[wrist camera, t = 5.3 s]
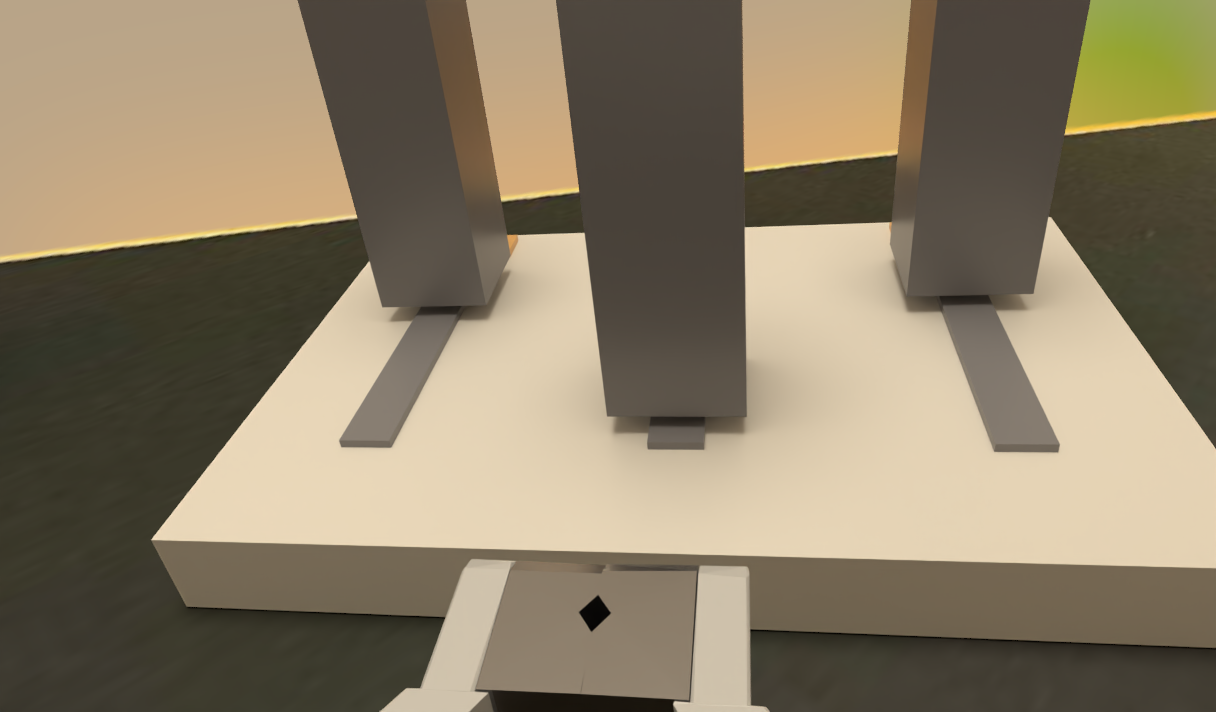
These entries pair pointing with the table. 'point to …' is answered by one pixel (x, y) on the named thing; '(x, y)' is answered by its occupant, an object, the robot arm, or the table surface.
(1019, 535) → the switch bank
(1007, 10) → the tall grey switch
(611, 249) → the grey rectangular pillar
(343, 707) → the table surface
